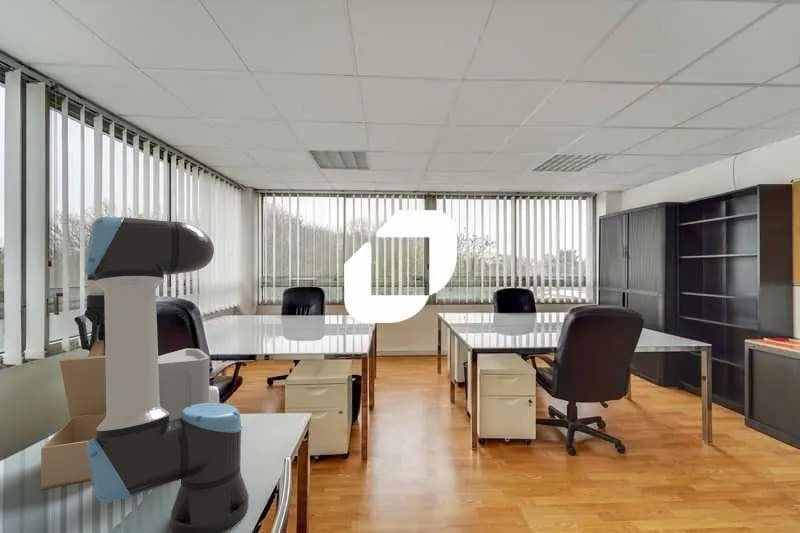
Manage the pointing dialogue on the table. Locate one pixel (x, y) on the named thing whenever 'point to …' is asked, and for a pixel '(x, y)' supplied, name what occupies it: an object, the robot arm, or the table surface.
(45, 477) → the tan rectangular open box
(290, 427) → the table surface
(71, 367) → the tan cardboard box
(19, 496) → the table surface
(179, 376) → the grey tapered bin
